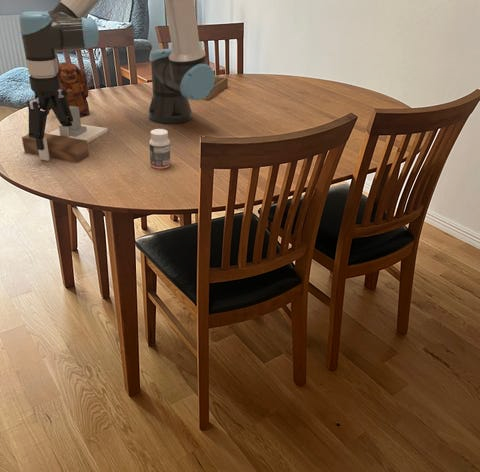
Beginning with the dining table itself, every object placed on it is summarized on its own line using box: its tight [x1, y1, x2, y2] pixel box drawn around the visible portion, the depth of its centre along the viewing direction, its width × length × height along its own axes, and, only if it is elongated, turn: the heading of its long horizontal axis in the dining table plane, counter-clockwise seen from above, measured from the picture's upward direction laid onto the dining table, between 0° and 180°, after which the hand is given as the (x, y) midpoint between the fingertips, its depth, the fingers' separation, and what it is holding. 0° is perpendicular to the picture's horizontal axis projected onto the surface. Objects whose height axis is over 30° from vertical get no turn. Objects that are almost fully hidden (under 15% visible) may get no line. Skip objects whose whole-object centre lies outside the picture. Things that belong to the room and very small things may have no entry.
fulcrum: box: [47, 106, 109, 144], centre depth 159 cm, size 14×16×9 cm
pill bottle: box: [148, 128, 172, 170], centre depth 141 cm, size 6×6×10 cm
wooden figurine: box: [57, 61, 90, 118], centre depth 173 cm, size 12×6×18 cm, turn 134°
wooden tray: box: [200, 75, 229, 102], centre depth 210 cm, size 15×22×4 cm
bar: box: [21, 132, 90, 164], centre depth 146 cm, size 18×6×5 cm, turn 71°
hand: (56, 153), depth 147 cm, fingers open, 9 cm apart
